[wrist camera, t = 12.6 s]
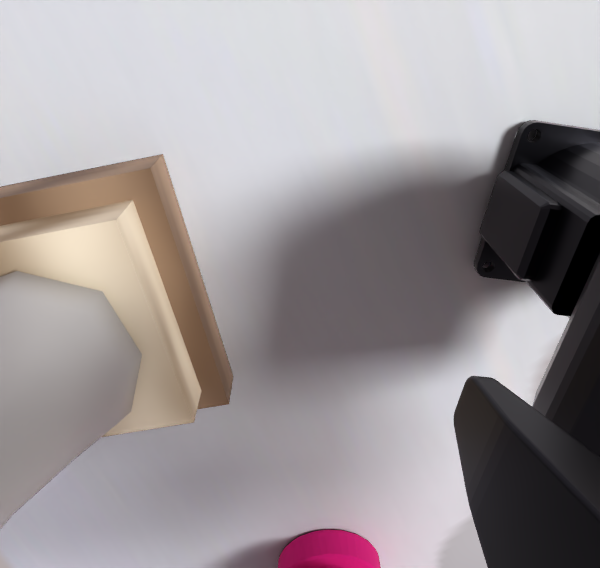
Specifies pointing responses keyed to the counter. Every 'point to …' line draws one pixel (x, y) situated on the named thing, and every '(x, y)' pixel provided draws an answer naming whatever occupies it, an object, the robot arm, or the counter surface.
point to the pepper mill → (329, 551)
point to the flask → (56, 379)
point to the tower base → (164, 242)
